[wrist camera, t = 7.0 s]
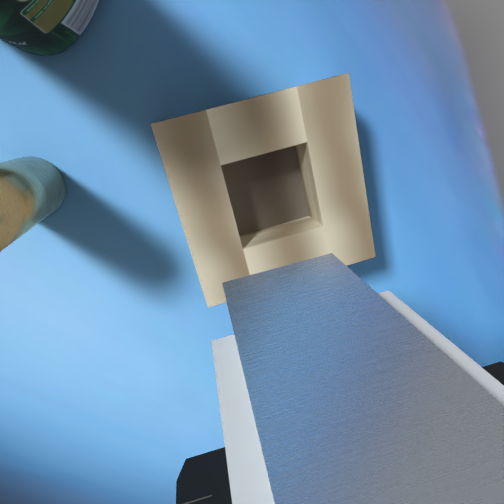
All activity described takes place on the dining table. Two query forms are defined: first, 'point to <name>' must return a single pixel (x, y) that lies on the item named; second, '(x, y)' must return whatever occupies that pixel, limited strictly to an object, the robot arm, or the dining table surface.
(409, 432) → the square bit
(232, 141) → the socket block
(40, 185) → the round bit
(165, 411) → the dining table surface
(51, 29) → the coffee jar
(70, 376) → the dining table surface
